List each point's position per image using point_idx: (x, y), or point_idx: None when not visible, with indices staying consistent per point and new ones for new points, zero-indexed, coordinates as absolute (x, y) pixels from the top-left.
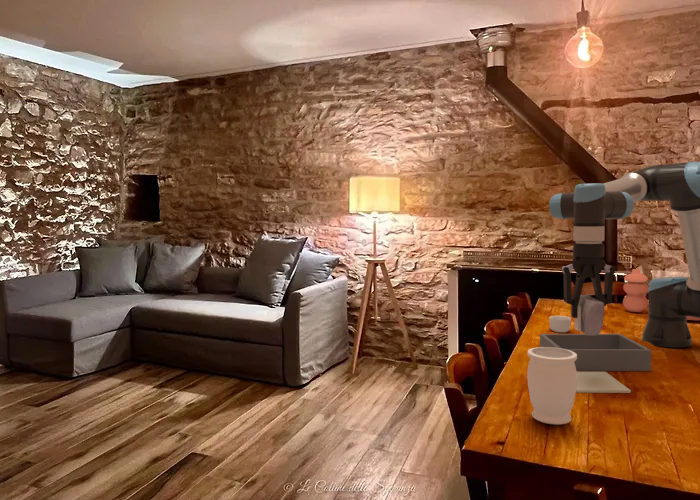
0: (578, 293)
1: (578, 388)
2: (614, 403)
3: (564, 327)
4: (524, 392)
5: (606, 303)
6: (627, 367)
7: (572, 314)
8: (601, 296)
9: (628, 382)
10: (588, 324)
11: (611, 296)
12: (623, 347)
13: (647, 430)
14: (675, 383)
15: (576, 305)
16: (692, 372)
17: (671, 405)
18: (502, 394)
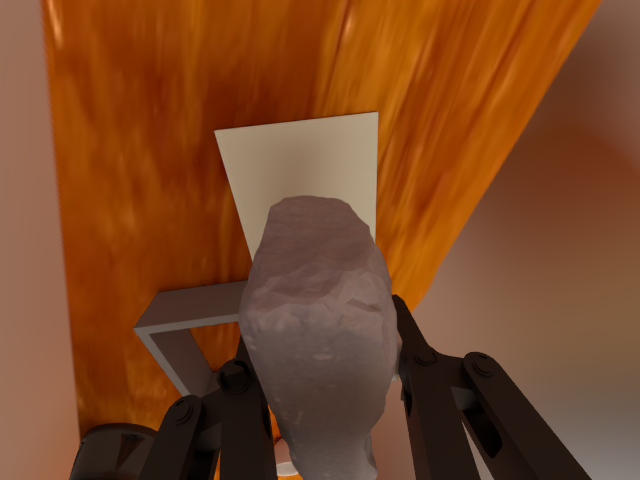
0: (450, 458)
1: (342, 131)
2: (272, 21)
3: (284, 446)
4: (476, 100)
5: (210, 399)
6: (203, 290)
7: (406, 311)
8: (237, 453)
9: (212, 212)
10: (348, 211)
11: (148, 467)
12: (199, 375)
13: None
14: (104, 220)
15: (416, 349)
16: (71, 296)
17: (110, 19)
18: (537, 75)
